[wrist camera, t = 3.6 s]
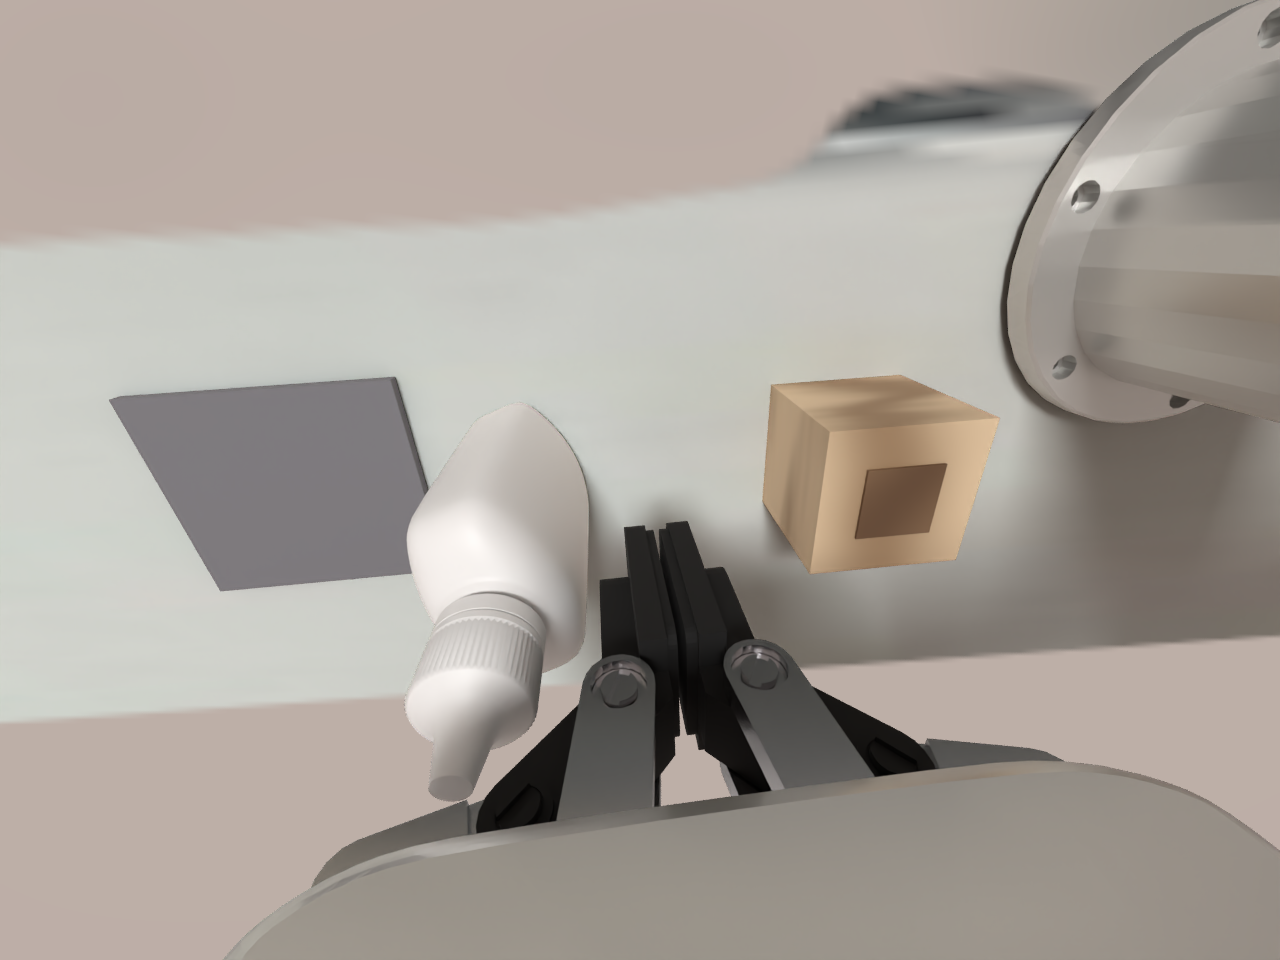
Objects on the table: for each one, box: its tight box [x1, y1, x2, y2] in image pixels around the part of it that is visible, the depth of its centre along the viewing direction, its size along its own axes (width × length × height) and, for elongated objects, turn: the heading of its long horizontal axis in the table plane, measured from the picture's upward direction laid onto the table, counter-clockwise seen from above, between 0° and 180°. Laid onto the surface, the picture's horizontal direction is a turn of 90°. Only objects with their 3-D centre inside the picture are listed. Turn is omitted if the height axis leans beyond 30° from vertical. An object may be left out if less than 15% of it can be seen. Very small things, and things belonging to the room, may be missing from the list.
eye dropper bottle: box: [404, 402, 589, 801], centre depth 13 cm, size 4×6×12 cm
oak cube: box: [762, 375, 1000, 574], centre depth 17 cm, size 5×5×5 cm
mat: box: [109, 377, 428, 591], centre depth 18 cm, size 9×8×1 cm
